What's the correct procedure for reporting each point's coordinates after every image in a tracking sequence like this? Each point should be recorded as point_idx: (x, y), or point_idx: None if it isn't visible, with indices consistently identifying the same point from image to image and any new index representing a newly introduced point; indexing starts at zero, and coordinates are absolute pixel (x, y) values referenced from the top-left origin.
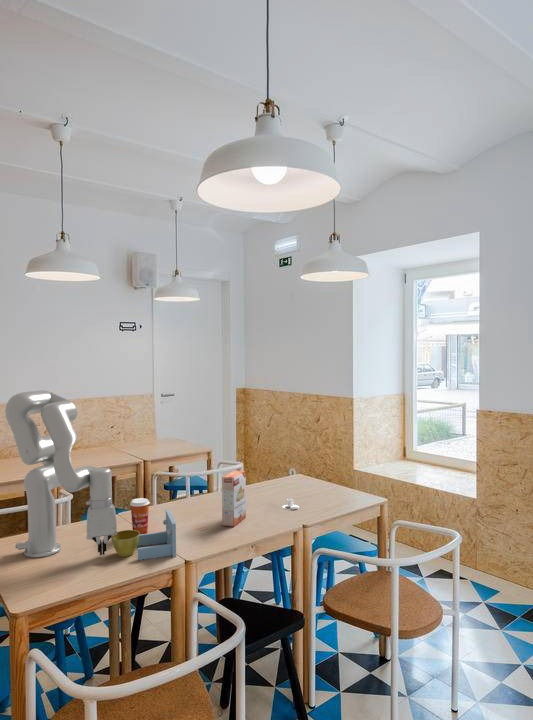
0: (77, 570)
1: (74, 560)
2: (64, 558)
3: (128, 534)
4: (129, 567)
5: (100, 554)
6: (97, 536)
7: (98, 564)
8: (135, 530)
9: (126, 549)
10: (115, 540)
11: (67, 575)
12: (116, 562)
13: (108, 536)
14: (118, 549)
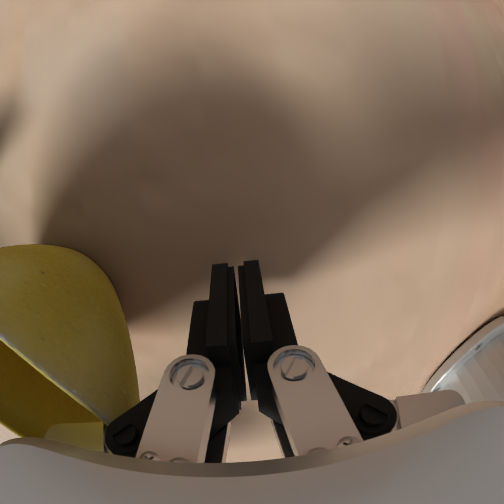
0: (418, 65)
1: (424, 263)
2: (451, 300)
3: None
4: (17, 43)
5: (253, 261)
6: (354, 450)
7: (260, 120)
8: (9, 429)
9: (3, 247)
10: (21, 333)
11: (456, 24)
12: (97, 137)
13: (143, 442)
14: (60, 265)
